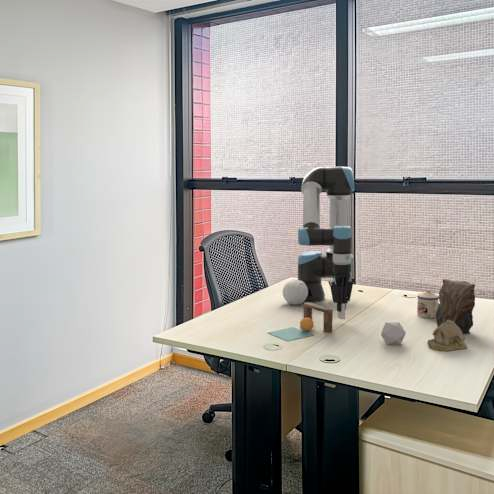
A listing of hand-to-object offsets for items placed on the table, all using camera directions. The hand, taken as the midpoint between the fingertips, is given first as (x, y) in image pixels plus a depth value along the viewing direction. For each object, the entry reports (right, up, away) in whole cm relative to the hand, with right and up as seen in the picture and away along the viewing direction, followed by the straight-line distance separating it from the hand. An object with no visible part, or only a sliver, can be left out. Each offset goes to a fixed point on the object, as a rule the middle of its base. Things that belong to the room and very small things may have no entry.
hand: (341, 318), depth 235 cm
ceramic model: (+33, -7, -31) cm, 46 cm away
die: (+15, -6, -27) cm, 31 cm away
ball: (-16, -1, -11) cm, 19 cm away
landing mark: (-22, -4, -14) cm, 27 cm away
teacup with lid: (+40, 0, +9) cm, 41 cm away
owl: (+41, -4, -13) cm, 43 cm away
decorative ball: (-17, +2, +32) cm, 36 cm away
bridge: (-11, -3, -7) cm, 13 cm away
